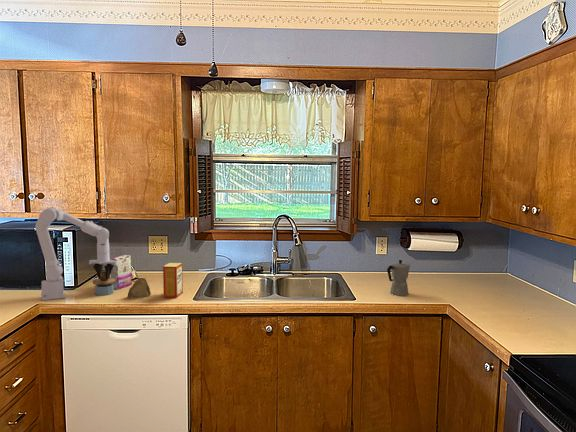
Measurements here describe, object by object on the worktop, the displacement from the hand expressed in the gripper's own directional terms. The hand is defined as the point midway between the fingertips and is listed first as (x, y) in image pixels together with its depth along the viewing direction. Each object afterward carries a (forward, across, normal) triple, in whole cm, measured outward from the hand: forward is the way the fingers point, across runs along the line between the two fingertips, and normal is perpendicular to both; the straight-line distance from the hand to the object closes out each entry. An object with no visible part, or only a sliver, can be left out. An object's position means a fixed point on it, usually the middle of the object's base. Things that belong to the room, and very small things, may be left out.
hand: (104, 278), depth 212 cm
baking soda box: (+8, +36, +2) cm, 37 cm away
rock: (+8, +20, -2) cm, 21 cm away
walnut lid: (+2, 0, 0) cm, 2 cm away
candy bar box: (+8, +2, +13) cm, 16 cm away
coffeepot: (+8, +149, +24) cm, 151 cm away
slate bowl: (+8, 0, 0) cm, 8 cm away
